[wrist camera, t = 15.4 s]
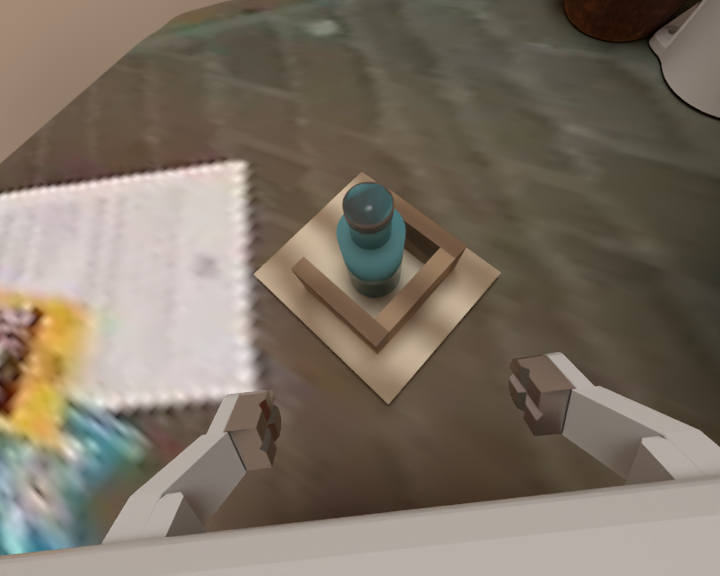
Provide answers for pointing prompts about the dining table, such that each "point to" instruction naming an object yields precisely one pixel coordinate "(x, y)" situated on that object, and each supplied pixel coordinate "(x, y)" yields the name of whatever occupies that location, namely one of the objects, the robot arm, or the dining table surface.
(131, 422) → the dining table surface
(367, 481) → the dining table surface
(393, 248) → the teal bottle
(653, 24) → the case
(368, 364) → the bottle stand
